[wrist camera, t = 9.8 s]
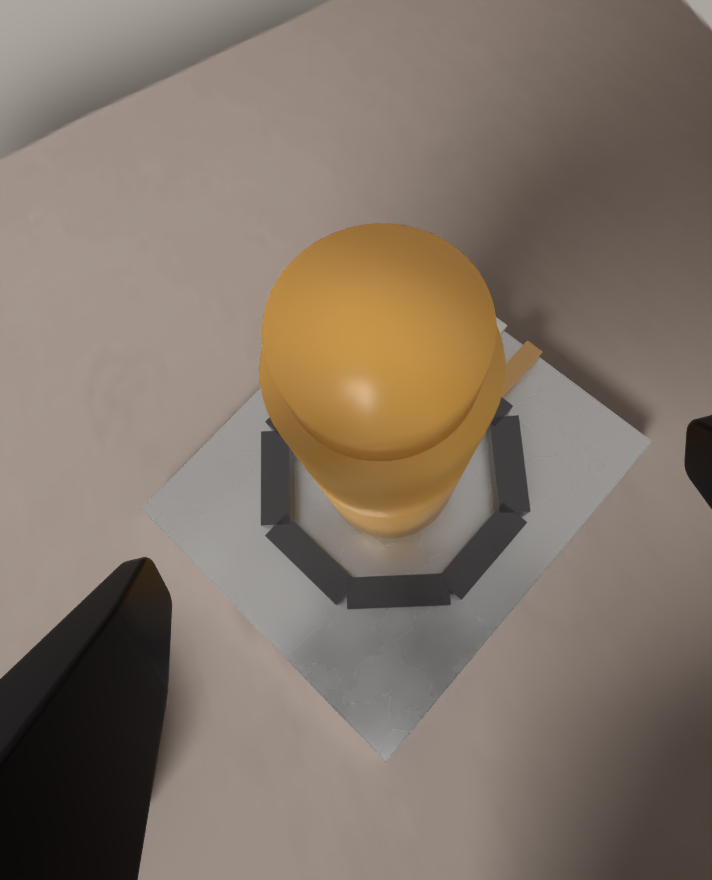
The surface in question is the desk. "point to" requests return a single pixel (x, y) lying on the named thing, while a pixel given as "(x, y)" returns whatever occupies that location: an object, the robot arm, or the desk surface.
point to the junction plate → (396, 544)
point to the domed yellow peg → (382, 371)
